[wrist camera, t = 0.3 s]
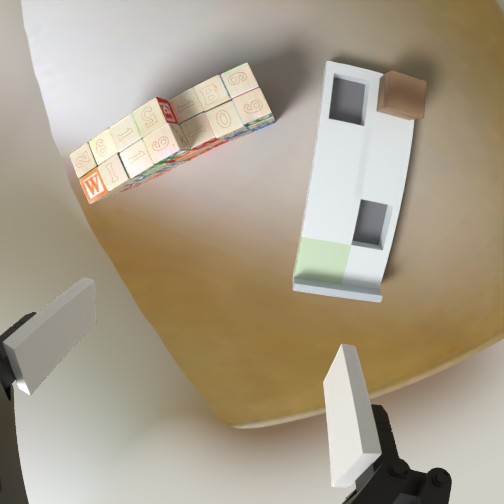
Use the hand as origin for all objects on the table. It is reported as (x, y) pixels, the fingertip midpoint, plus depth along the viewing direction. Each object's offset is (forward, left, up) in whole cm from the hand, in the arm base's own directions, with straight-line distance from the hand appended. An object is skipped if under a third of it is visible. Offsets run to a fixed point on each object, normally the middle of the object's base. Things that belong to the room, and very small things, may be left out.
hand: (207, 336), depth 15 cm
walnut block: (-18, +15, -25) cm, 34 cm away
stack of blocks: (-10, -10, -28) cm, 31 cm away
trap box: (-7, +12, -27) cm, 30 cm away
